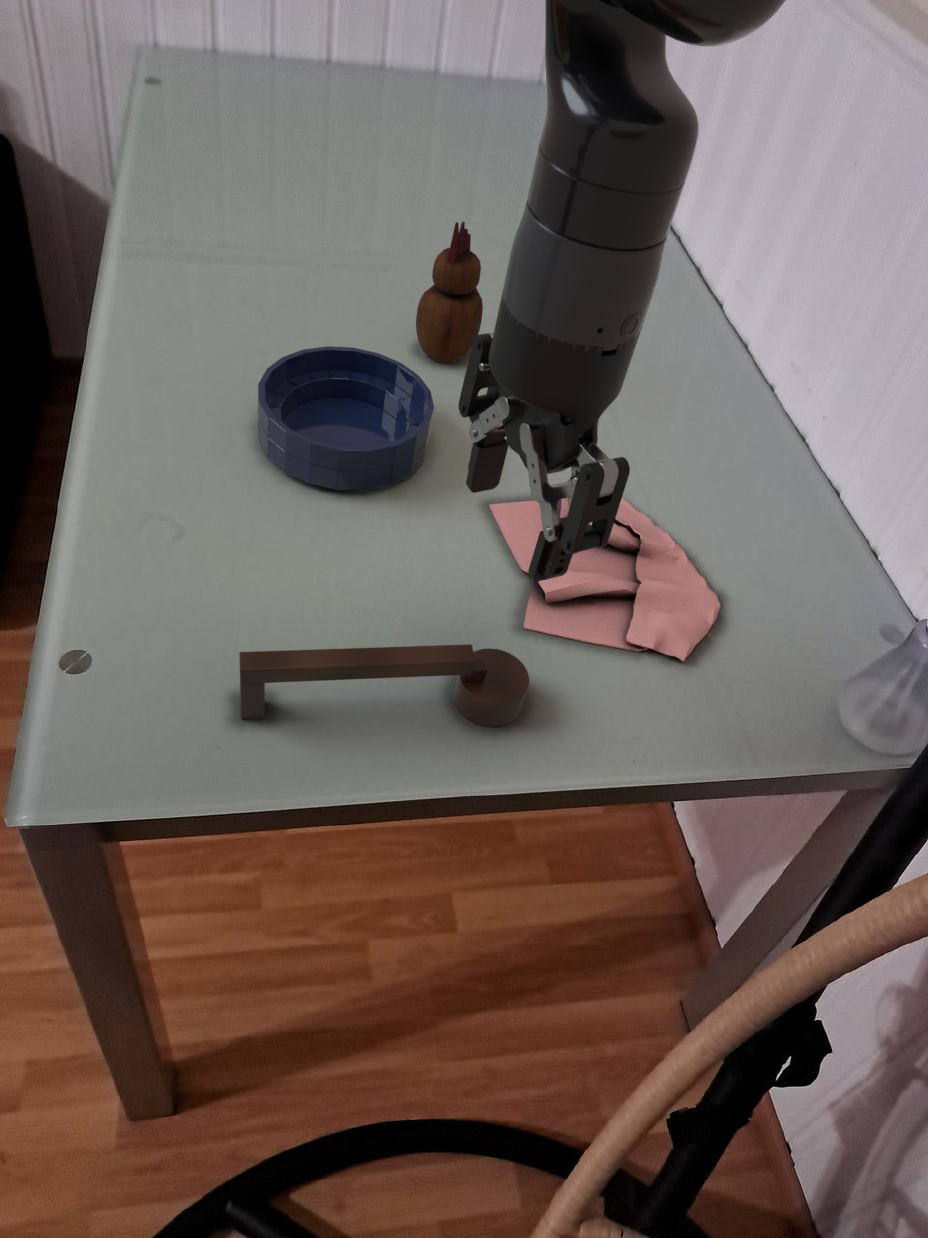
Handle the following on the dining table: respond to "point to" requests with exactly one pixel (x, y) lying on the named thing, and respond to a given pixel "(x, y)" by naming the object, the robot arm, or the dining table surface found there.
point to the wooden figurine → (451, 302)
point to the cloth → (615, 585)
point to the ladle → (396, 675)
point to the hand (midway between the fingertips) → (511, 530)
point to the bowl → (344, 417)
